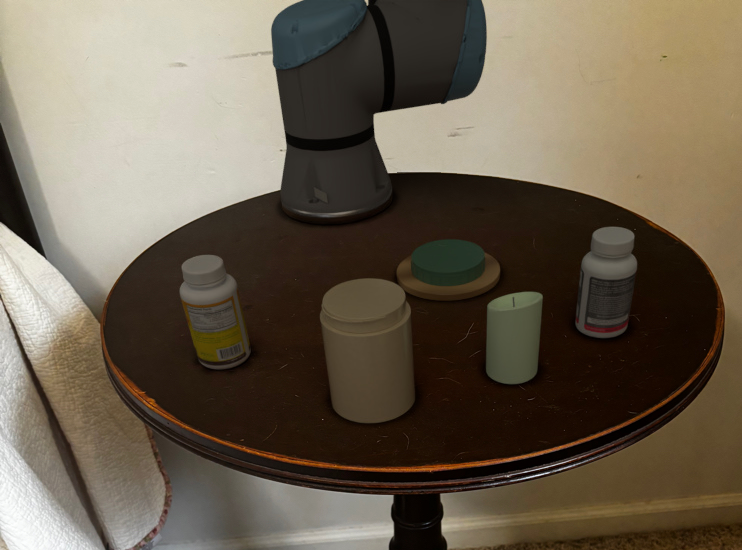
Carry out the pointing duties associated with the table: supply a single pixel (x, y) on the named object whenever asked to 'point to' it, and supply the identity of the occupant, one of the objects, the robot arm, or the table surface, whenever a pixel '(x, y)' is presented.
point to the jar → (368, 350)
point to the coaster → (448, 292)
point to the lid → (448, 262)
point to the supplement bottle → (214, 313)
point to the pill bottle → (606, 283)
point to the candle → (513, 337)
